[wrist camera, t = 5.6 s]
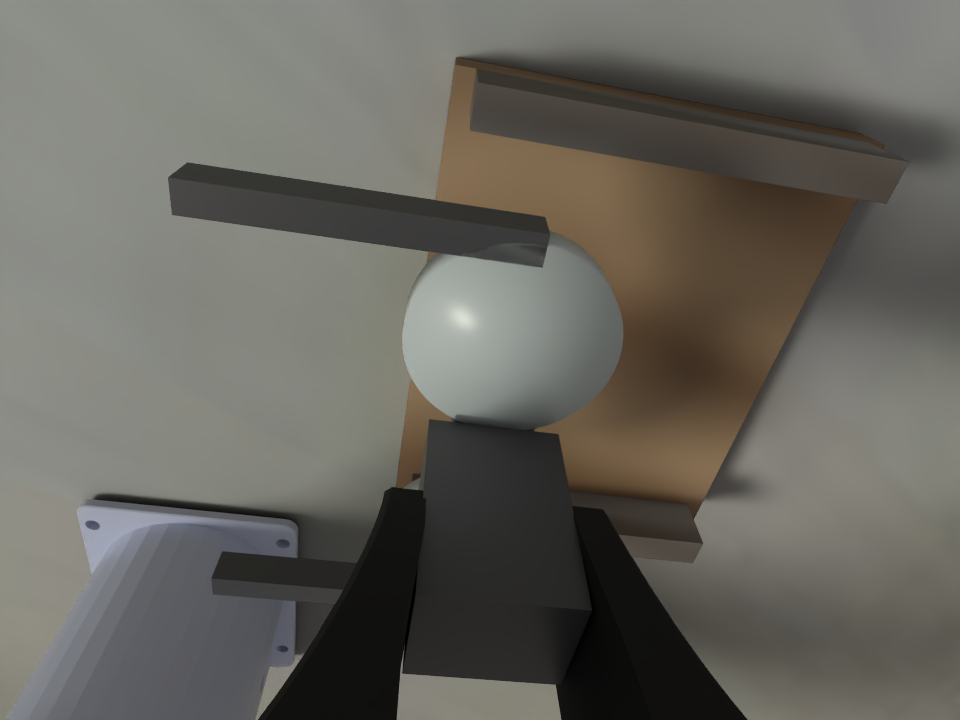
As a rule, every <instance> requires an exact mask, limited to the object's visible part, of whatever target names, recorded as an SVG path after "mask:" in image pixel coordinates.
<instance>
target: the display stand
mask: <svg viewBox="0 0 960 720" xmlns="http://www.w3.org/2000/svg"><path fill="white" fill-rule="evenodd" d="M884 146H885V145H884V144H882V143H879V142H877V141H875V140H873V139H871V138H869V137H867V136H864V135H862V134H860V133H855V132H850V131H844V130H839V129H834V128H828V127H823V126H818V125H813V124H807V123H802V122H797V121H791V120H786V119H781V118H775V117H770V116H765V115H759V114H754V113H749V112H744V111H738V110H733V109H728V108H722V107H717V106H712V105H706V104H701V103H696V102H690V101H685V100H680V99H675V98H669V97H664V96H659V95H653V94H648V93H643V92H637V91H632V90H627V89H621V88H616V87H611V86H606V85H600V84H595V83H590V82H584V81H579V80H574V79H568V78H563V77H558V76H552V75H547V74H542V73H537V72H531V71H526V70H521V69H515V68H510V67H505V66H499V65H494V64H489V63H483V62H478V61H473V60H468V59H462V58H457V57H456V60H455V67H454V74H453V81H452V88H451V95H450V103H449V110H448V117H447V124H446V131H445V138H444V145H443V153H442V160H441V167H440V174H439V181H438V188H437V195H436V200H438V201H444V202H451V203H457V204H464V205H471V206H477V207H484V208H490V209H497V210H503V211H510V212H517V213H523V214H530V215H536V216H543V217H545V218H546V221H547V224H548V228H549V230H550V231H553V232H556V233H558V234H561V235H563V236H564V237H566V238H568V239H570V240H572V241H574V242H575V243H576V244H578V245H579V246H581V247H582V248H583V249H585V250H586V251H587V252H588V253H589V254H590V255H591V256H592V257H593V258H594V259H595V261H596V262H597V263H598V265H599V266H600V267H601V269H602V270H603V272H604V274H605V276H606V277H607V279H608V282H609V284H610V287H611V289H612V291H613V294H614V296H615V298H616V301H617V303H618V306H619V309H620V312H621V317H622V321H623V345H622V350H621V354H620V358H619V361H618V364H617V366H616V368H615V371H614V373H613V374H612V376H611V378H610V379H609V381H608V383H607V384H606V385H605V386H604V388H603V389H602V390H601V391H600V393H599V394H598V395H597V396H596V397H595V398H594V399H593V400H592V401H590V402H589V403H588V404H587V405H585V406H584V407H583V408H582V409H580V410H578V411H577V412H575V413H574V414H572V415H570V416H568V417H566V418H564V419H562V420H560V421H558V422H555V423H552V424H550V425H547V426H543V427H539V428H535V430H534V431H537V432H545V433H554V434H559V439H560V444H561V449H562V454H563V460H564V465H565V470H566V475H567V481H568V486H569V491H570V496H571V502H572V506H578V507H588V508H597V509H603V510H604V511H605V513H606V514H607V516H608V517H609V519H610V521H611V522H612V524H613V526H614V528H615V529H616V531H617V533H618V534H619V536H620V538H621V539H622V541H623V543H624V545H625V546H626V548H627V550H628V551H629V553H630V555H631V556H632V557H639V558H649V559H659V560H668V561H678V562H688V563H693V562H694V560H695V558H696V556H697V554H698V552H699V551H700V549H701V547H702V545H703V542H702V539H701V537H700V534H699V532H698V529H697V527H696V525H695V522H694V518H695V516H696V514H697V512H698V510H699V508H700V506H701V504H702V502H703V500H704V498H705V496H706V494H707V492H708V490H709V488H710V486H711V484H712V482H713V480H714V478H715V477H716V475H717V473H718V471H719V469H720V467H721V465H722V463H723V461H724V459H725V457H726V455H727V453H728V451H729V449H730V447H731V445H732V443H733V441H734V439H735V437H736V435H737V434H738V432H739V430H740V428H741V426H742V424H743V422H744V420H745V418H746V416H747V414H748V412H749V410H750V408H751V406H752V404H753V402H754V400H755V398H756V396H757V394H758V392H759V391H760V389H761V387H762V385H763V383H764V381H765V379H766V377H767V375H768V373H769V371H770V369H771V367H772V365H773V363H774V361H775V359H776V357H777V355H778V353H779V351H780V349H781V347H782V346H783V344H784V342H785V340H786V338H787V336H788V334H789V332H790V330H791V328H792V326H793V324H794V322H795V320H796V318H797V316H798V314H799V312H800V310H801V308H802V306H803V304H804V303H805V301H806V299H807V297H808V295H809V293H810V291H811V289H812V287H813V285H814V283H815V281H816V279H817V277H818V275H819V273H820V271H821V269H822V267H823V265H824V263H825V261H826V260H827V258H828V256H829V254H830V252H831V250H832V248H833V246H834V244H835V242H836V240H837V238H838V236H839V234H840V232H841V230H842V228H843V226H844V224H845V222H846V220H847V218H848V217H849V215H850V213H851V211H852V209H853V207H854V205H855V203H856V201H857V199H861V200H867V201H872V202H878V203H884V204H887V202H888V200H889V198H890V196H891V195H892V193H893V191H894V189H895V187H896V185H897V184H898V182H899V180H900V178H901V176H902V174H903V172H904V171H905V169H906V167H907V165H908V163H909V162H908V161H906V160H904V159H902V158H900V157H898V156H896V155H893V154H891V153H889V152H887V151H885V150H883V148H884ZM436 254H437V253H435V252H429V253H428V260H427V263H428V262H429V261H430V260H431V259H432V258H433V257H434V256H435V255H436ZM451 418H452V417H450V416H448V415H446V414H445V413H443V412H442V411H440V410H439V409H437V408H436V407H435V406H434V405H433V404H431V403H430V402H429V401H428V400H427V399H426V398H425V397H424V395H423V394H422V393H421V392H420V391H419V390H418V388H417V386H416V385H415V383H414V382H413V380H412V378H411V381H410V388H409V395H408V403H407V410H406V417H405V424H404V431H403V438H402V445H401V453H400V460H399V467H398V475H397V483H396V488H404V487H405V486H406V485H408V484H410V483H411V482H413V481H415V480H417V479H419V478H420V476H421V470H422V463H423V457H424V450H425V443H426V437H427V430H428V424H429V419H433V420H441V421H450V422H451Z"/></svg>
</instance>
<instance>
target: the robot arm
mask: <svg viewBox="0 0 960 720" xmlns="http://www.w3.org/2000/svg"><path fill="white" fill-rule="evenodd" d="M572 507H573V512H574V520H575V525H576V530H577V535H578V541H579V546H580V550H581V554H582V559H583V565H584V570H585V575H586V580H587V586H588V591H589V596H590V602H591V607H592V612H591V614H590V617H589V619H588V622H587V624H586V626H585V629H584V631H583V633H582V636H581V638H580V641H579V643H578V645H577V648H576V650H575V652H574V655H573V657H572V660H571V662H570V664H569V667H568V669H567V671H566V674H565V676H564V679H563V681H562V683H561V685H556V689H557V695H558V701H559V707H560V713H561V719H562V720H747V718H746V717H745V716H744V715H743V714H742V712H741V711H740V710H739V709H738V708H737V706H736V705H735V704H734V703H733V702H732V700H731V699H730V698H729V696H728V695H727V694H726V693H725V691H724V690H723V689H722V688H721V686H720V685H719V684H718V682H717V681H716V680H715V679H714V677H713V676H712V675H711V673H710V672H709V671H708V669H707V668H706V667H705V665H704V664H703V663H702V661H701V660H700V658H699V657H698V656H697V654H696V653H695V652H694V650H693V649H692V647H691V646H690V645H689V643H688V642H687V641H686V639H685V638H684V636H683V635H682V633H681V632H680V630H679V629H678V628H677V626H676V625H675V623H674V622H673V620H672V619H671V617H670V616H669V614H668V613H667V611H666V610H665V608H664V607H663V605H662V604H661V602H660V601H659V599H658V598H657V596H656V595H655V593H654V592H653V590H652V588H651V587H650V585H649V584H648V582H647V581H646V579H645V577H644V576H643V574H642V573H641V571H640V569H639V568H638V566H637V564H636V563H635V561H634V560H633V558H632V556H631V555H630V553H629V551H628V550H627V548H626V546H625V545H624V543H623V541H622V539H621V538H620V536H619V534H618V533H617V531H616V529H615V528H614V526H613V524H612V522H611V521H610V519H609V517H608V516H607V514H606V513H605V511H604V510H603V509H597V508H588V507H578V506H572ZM425 514H426V498H423V490H414V489H404V488H395V487H392V488H390V489H388V490H386V491H385V493H384V498H383V502H382V505H381V508H380V511H379V514H378V517H377V520H376V523H375V525H374V528H373V530H372V532H371V535H370V537H369V539H368V542H367V544H366V546H365V548H364V550H363V553H362V554H361V556H360V558H359V560H358V562H357V564H356V566H355V568H354V570H353V572H352V574H351V576H350V578H349V580H348V582H347V584H346V586H345V588H344V589H343V591H342V593H341V595H340V597H339V598H338V600H337V602H336V603H335V605H334V607H333V608H332V610H331V612H330V613H329V615H328V617H327V619H326V620H325V622H324V624H323V625H322V627H321V629H320V630H319V632H318V634H317V635H316V637H315V638H314V640H313V642H312V643H311V645H310V646H309V648H308V649H307V651H306V652H305V654H304V656H303V657H302V659H301V660H300V662H299V663H298V665H297V666H296V668H295V669H294V670H293V672H292V673H291V675H290V676H289V678H288V679H287V681H286V682H285V683H284V685H283V686H282V688H281V689H280V691H279V692H278V693H277V695H276V696H275V698H274V699H273V700H272V702H271V703H270V704H269V706H268V707H267V708H266V710H265V711H264V712H263V714H262V715H261V716H260V718H259V719H258V720H396V719H397V706H398V694H399V681H400V668H401V661H402V656H403V650H404V645H405V638H406V632H407V626H408V620H409V614H410V608H411V602H412V596H413V590H414V584H415V578H416V572H417V566H418V561H419V555H420V550H421V545H422V539H423V534H424V528H425ZM77 516H78V520H79V524H80V528H81V532H82V536H83V540H84V544H85V549H86V553H87V557H88V561H89V565H90V569H91V573H92V575H91V577H90V578H89V580H88V582H87V583H86V585H85V587H84V589H83V590H82V592H81V594H80V595H79V597H78V599H77V600H76V602H75V604H74V605H73V607H72V609H71V610H70V612H69V614H68V615H67V617H66V619H65V621H64V622H63V624H62V626H61V627H60V629H59V631H58V632H57V634H56V636H55V637H54V639H53V641H52V642H51V644H50V646H49V647H48V649H47V651H46V653H45V654H44V656H43V658H42V659H41V661H40V663H39V664H38V666H37V668H36V669H35V671H34V673H33V674H32V676H31V678H30V680H29V681H28V683H27V685H26V686H25V688H24V690H23V691H22V693H21V695H20V696H19V698H18V700H17V701H16V703H15V705H14V706H13V708H12V710H11V712H10V713H9V715H8V717H7V718H6V720H255V719H256V715H257V711H258V708H259V704H260V700H261V696H262V693H263V689H264V685H265V682H266V678H267V674H268V670H269V667H270V666H272V667H288V666H290V665H292V664H293V662H294V658H295V639H296V601H286V600H274V599H262V598H249V597H237V596H225V595H213V590H212V581H211V578H212V575H213V573H214V570H215V568H216V565H217V563H218V560H219V558H220V555H221V553H222V551H226V552H237V553H248V554H259V555H270V556H281V557H292V558H298V526H297V525H296V524H295V523H294V522H293V521H291V520H287V519H280V518H270V517H260V516H250V515H241V514H231V513H221V512H211V511H201V510H192V509H182V508H172V507H162V506H153V505H143V504H133V503H123V502H113V501H104V500H86V501H83V503H82V504H81V505H80V507H79V508H78V510H77ZM282 539H284V540H282Z"/></svg>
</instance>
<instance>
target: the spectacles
mask: <svg viewBox="0 0 960 720" xmlns="http://www.w3.org/2000/svg"><path fill="white" fill-rule="evenodd" d="M168 181H169V190H170V200H171V209H172V215H177V216H184V217H191V218H198V219H205V220H212V221H219V222H226V223H233V224H240V225H247V226H254V227H261V228H268V229H275V230H282V231H289V232H296V233H303V234H310V235H317V236H324V237H331V238H338V239H345V240H352V241H359V242H365V243H372V244H379V245H386V246H393V247H400V248H407V249H414V250H421V251H428V252H435V253H437V254H436V255H435V256H434V257H433V258H432V259H431V260H430V261H429V262H428V263H427V264H426V265H425V267H424V268H423V269H422V271H421V272H420V274H419V275H418V277H417V279H416V281H415V283H414V285H413V287H412V290H411V292H410V295H409V298H408V303H407V309H406V314H405V321H404V327H403V336H402V347H403V355H404V359H405V363H406V367H407V369H408V372H409V374H410V376H411V378H412V380H413V382H414V383H415V385H416V386H417V388H418V390H419V391H420V392H421V393H422V394H423V395H424V397H425V398H426V399H427V400H428V401H429V402H430V403H431V404H433V405H434V406H435V407H436V408H437V409H439V410H440V411H442V412H443V413H445V414H446V415H448V416H450V417H452V418H451V422H450V421H441V420H433V419H429V424H428V430H427V437H426V443H425V450H424V457H423V463H422V470H421V476H420V478H419V479H417V480H415V481H413V482H411V483H410V484H408V485H406V486H405V487H404V489H414V490H423V498H426V514H425V528H424V534H423V539H422V545H421V550H420V555H419V561H418V566H417V572H416V578H415V584H414V590H413V596H412V602H411V608H410V614H409V620H408V626H407V632H406V638H405V649H404V660H403V672H402V673H403V674H416V675H430V676H444V677H458V678H472V679H485V680H499V681H513V682H527V683H540V684H554V685H561V683H562V681H563V679H564V676H565V674H566V671H567V669H568V667H569V664H570V662H571V660H572V657H573V655H574V652H575V650H576V648H577V645H578V643H579V641H580V638H581V636H582V633H583V631H584V629H585V626H586V624H587V622H588V619H589V617H590V614H591V612H592V607H591V602H590V596H589V591H588V586H587V580H586V575H585V570H584V565H583V559H582V554H581V550H580V546H579V541H578V535H577V530H576V525H575V520H574V512H573V507H572V502H571V496H570V491H569V486H568V481H567V475H566V470H565V465H564V460H563V454H562V449H561V444H560V439H559V434H554V433H545V432H537V431H534V430H535V428H539V427H543V426H547V425H550V424H552V423H555V422H558V421H560V420H562V419H564V418H566V417H568V416H570V415H572V414H574V413H575V412H577V411H578V410H580V409H582V408H583V407H584V406H585V405H587V404H588V403H589V402H590V401H592V400H593V399H594V398H595V397H596V396H597V395H598V394H599V393H600V391H601V390H602V389H603V388H604V386H605V385H606V384H607V383H608V381H609V379H610V378H611V376H612V374H613V373H614V371H615V368H616V366H617V364H618V361H619V358H620V354H621V350H622V345H623V321H622V317H621V312H620V309H619V306H618V303H617V301H616V298H615V296H614V294H613V291H612V289H611V287H610V284H609V282H608V279H607V277H606V276H605V274H604V272H603V270H602V269H601V267H600V266H599V265H598V263H597V262H596V261H595V259H594V258H593V257H592V256H591V255H590V254H589V253H588V252H587V251H586V250H585V249H583V248H582V247H581V246H579V245H578V244H576V243H575V242H574V241H572V240H570V239H568V238H566V237H564V236H563V235H561V234H558V233H556V232H553V231H550V230H549V228H548V224H547V221H546V218H545V217H543V216H536V215H530V214H523V213H517V212H510V211H503V210H497V209H490V208H484V207H477V206H471V205H464V204H457V203H451V202H444V201H438V200H431V199H424V198H418V197H411V196H405V195H398V194H392V193H385V192H378V191H372V190H365V189H359V188H352V187H345V186H339V185H332V184H326V183H319V182H313V181H306V180H299V179H293V178H286V177H280V176H273V175H266V174H260V173H253V172H247V171H240V170H234V169H227V168H220V167H214V166H207V165H201V164H194V163H186V164H185V165H184V166H182V167H181V168H180V169H178V170H177V171H176V172H175V173H173V174H172V175H171V176H169V177H168ZM356 564H357V563H347V562H336V561H325V560H314V559H303V558H292V557H281V556H270V555H259V554H248V553H237V552H226V551H222V553H221V555H220V558H219V560H218V563H217V565H216V568H215V570H214V573H213V575H212V578H211V581H212V590H213V595H225V596H237V597H249V598H262V599H274V600H286V601H298V602H310V603H322V604H334V605H335V603H336V602H337V600H338V598H339V597H340V595H341V593H342V591H343V589H344V588H345V586H346V584H347V582H348V580H349V578H350V576H351V574H352V572H353V570H354V568H355V566H356Z"/></svg>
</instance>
